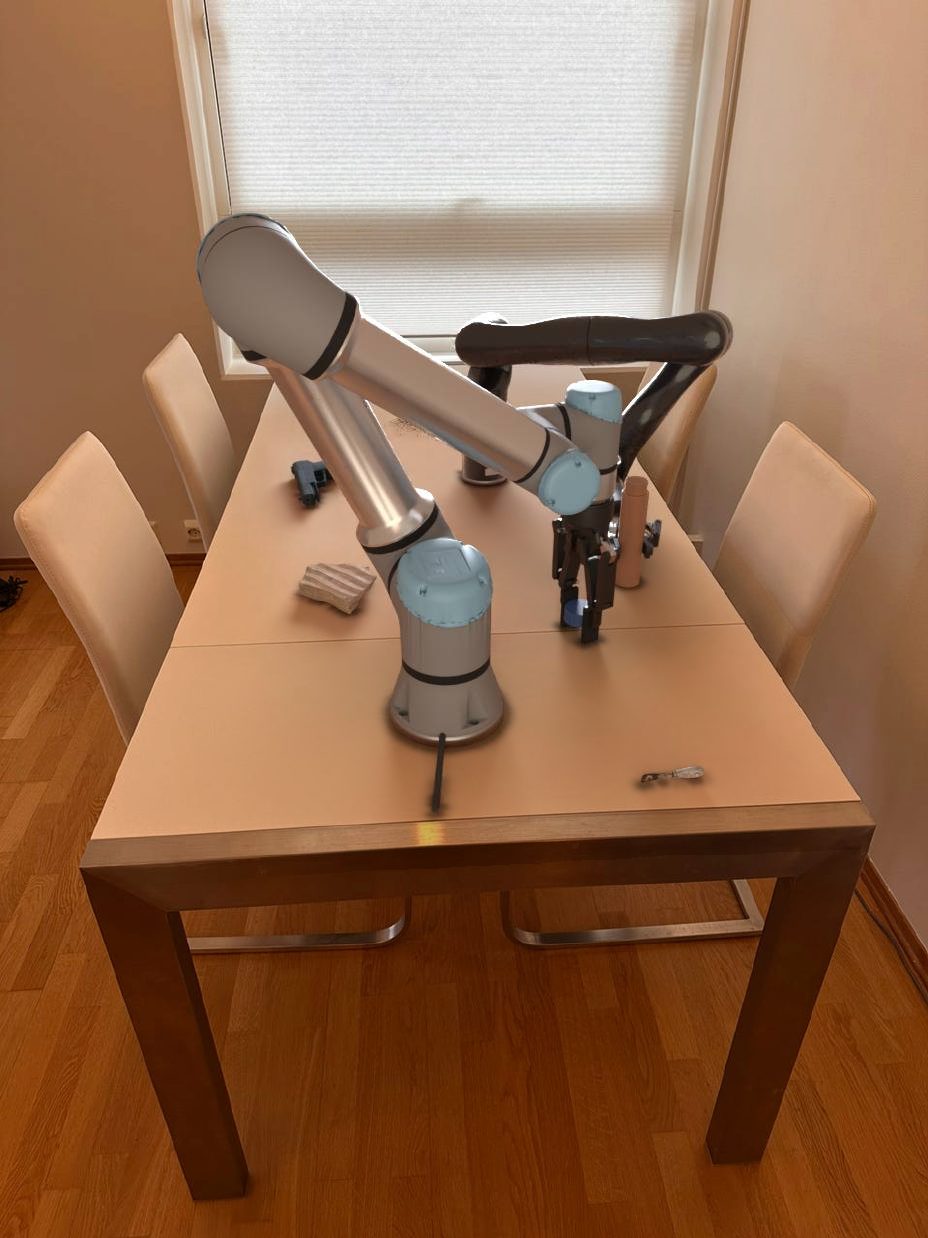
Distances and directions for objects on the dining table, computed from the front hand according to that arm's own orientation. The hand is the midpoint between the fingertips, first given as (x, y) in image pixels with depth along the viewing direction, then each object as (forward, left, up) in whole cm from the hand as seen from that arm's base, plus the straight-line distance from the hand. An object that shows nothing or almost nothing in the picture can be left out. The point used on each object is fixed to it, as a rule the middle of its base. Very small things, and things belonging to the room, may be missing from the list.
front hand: (578, 632), depth 138 cm
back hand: (+15, -7, +7) cm, 18 cm away
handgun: (+45, +57, 0) cm, 73 cm away
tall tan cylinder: (+18, -6, 0) cm, 19 cm away
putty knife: (-31, -15, 0) cm, 34 cm away
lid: (0, 0, +4) cm, 4 cm away
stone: (+4, +40, 0) cm, 41 cm away
